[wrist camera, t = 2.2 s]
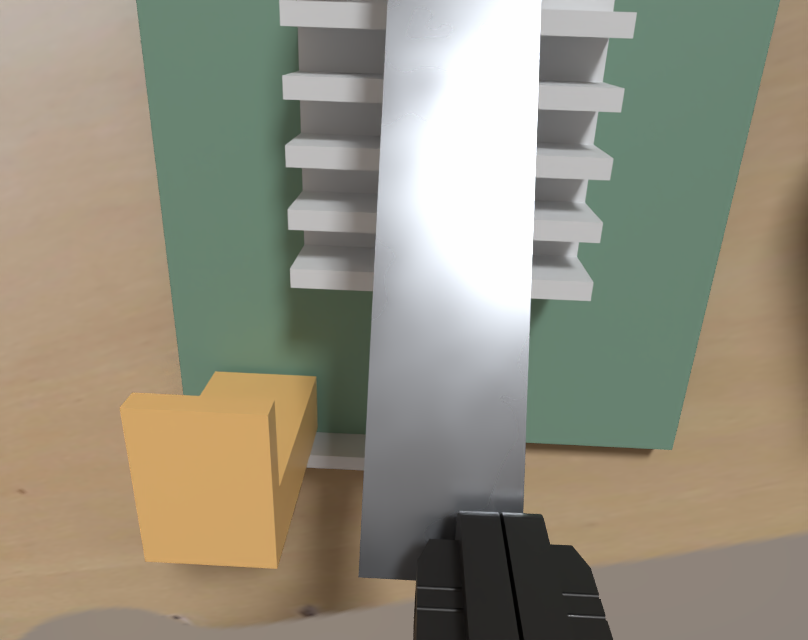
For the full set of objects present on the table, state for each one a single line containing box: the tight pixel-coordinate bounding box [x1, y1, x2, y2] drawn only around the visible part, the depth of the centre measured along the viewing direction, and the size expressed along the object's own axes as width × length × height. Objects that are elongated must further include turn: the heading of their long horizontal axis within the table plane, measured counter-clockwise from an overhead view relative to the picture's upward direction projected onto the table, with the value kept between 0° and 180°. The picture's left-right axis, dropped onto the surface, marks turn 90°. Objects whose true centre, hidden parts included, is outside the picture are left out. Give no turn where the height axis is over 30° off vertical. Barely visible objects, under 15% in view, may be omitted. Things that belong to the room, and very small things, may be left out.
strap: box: [359, 0, 541, 580], centre depth 13 cm, size 4×16×1 cm, turn 178°
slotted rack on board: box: [136, 0, 780, 470], centre depth 19 cm, size 20×25×8 cm
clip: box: [120, 371, 318, 569], centre depth 22 cm, size 4×5×8 cm
